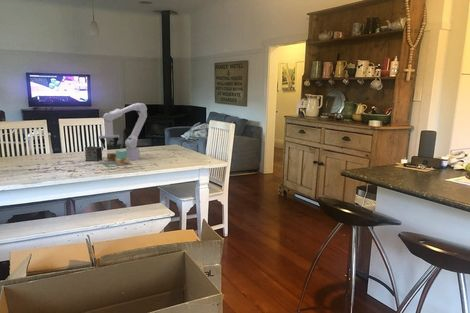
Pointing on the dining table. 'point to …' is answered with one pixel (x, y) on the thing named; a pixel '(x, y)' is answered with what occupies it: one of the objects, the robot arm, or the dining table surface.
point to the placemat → (115, 164)
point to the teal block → (121, 154)
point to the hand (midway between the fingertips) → (109, 147)
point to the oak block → (121, 161)
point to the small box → (93, 153)
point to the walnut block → (111, 157)
